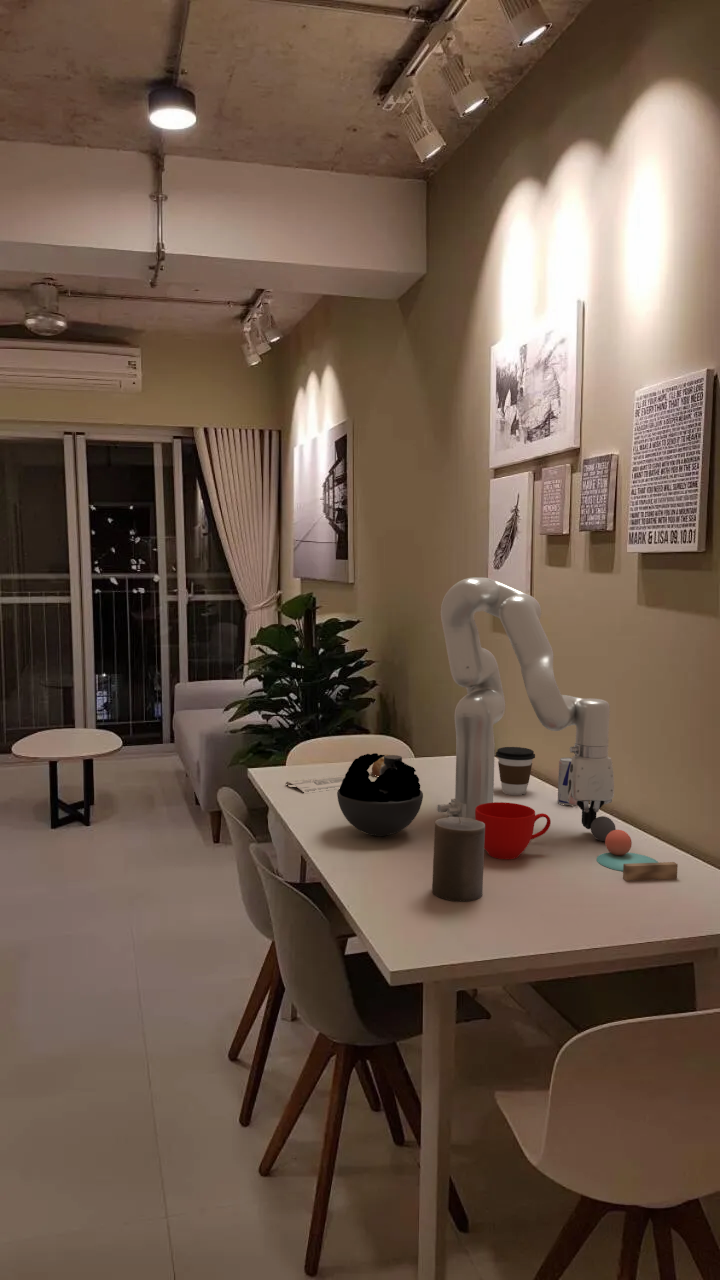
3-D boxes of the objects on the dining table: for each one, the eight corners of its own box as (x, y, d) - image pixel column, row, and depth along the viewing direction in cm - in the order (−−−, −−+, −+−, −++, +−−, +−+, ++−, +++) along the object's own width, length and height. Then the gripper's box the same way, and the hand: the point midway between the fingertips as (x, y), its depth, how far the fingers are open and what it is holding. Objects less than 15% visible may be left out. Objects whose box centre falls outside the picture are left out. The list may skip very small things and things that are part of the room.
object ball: (602, 850, 203) (613, 863, 198) (599, 828, 201) (610, 841, 196) (626, 843, 203) (637, 856, 198) (623, 822, 201) (634, 834, 196)
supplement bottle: (375, 798, 244) (376, 754, 243) (398, 796, 247) (399, 753, 246) (385, 805, 238) (386, 760, 237) (409, 802, 241) (410, 758, 240)
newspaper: (347, 778, 271) (347, 770, 270) (369, 791, 261) (370, 782, 260) (279, 786, 258) (280, 777, 258) (300, 800, 248) (300, 791, 248)
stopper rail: (626, 880, 183) (626, 866, 183) (622, 878, 185) (623, 863, 184) (676, 878, 185) (677, 864, 185) (673, 876, 186) (673, 862, 186)
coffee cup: (537, 798, 248) (538, 754, 247) (497, 797, 248) (498, 754, 247) (530, 788, 259) (532, 746, 258) (492, 787, 259) (493, 746, 258)
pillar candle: (447, 904, 169) (450, 825, 167) (423, 887, 178) (426, 812, 176) (492, 898, 173) (495, 821, 171) (466, 881, 181) (469, 808, 180)
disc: (624, 875, 186) (624, 874, 186) (584, 856, 198) (584, 855, 198) (673, 868, 191) (673, 867, 191) (631, 850, 203) (631, 849, 203)
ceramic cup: (560, 862, 194) (561, 816, 193) (484, 865, 191) (485, 819, 190) (538, 844, 207) (540, 800, 206) (466, 846, 204) (468, 802, 203)
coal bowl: (329, 823, 220) (330, 747, 218) (409, 820, 224) (411, 745, 223) (345, 849, 201) (346, 765, 199) (432, 845, 205) (434, 762, 203)
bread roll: (379, 782, 279) (369, 758, 278) (410, 769, 277) (399, 745, 277) (375, 790, 269) (364, 765, 269) (407, 777, 267) (396, 752, 267)
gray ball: (587, 816, 213) (586, 840, 212) (595, 814, 208) (594, 838, 206) (611, 818, 214) (610, 843, 212) (619, 816, 208) (618, 841, 207)
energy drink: (578, 806, 239) (580, 762, 238) (557, 805, 241) (559, 760, 240) (577, 801, 245) (579, 757, 244) (557, 800, 246) (559, 756, 245)
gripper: (567, 755, 209) (564, 833, 210) (628, 754, 211) (625, 831, 213) (555, 748, 216) (552, 824, 218) (614, 747, 219) (611, 822, 220)
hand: (588, 827), depth 215 cm, fingers closed
